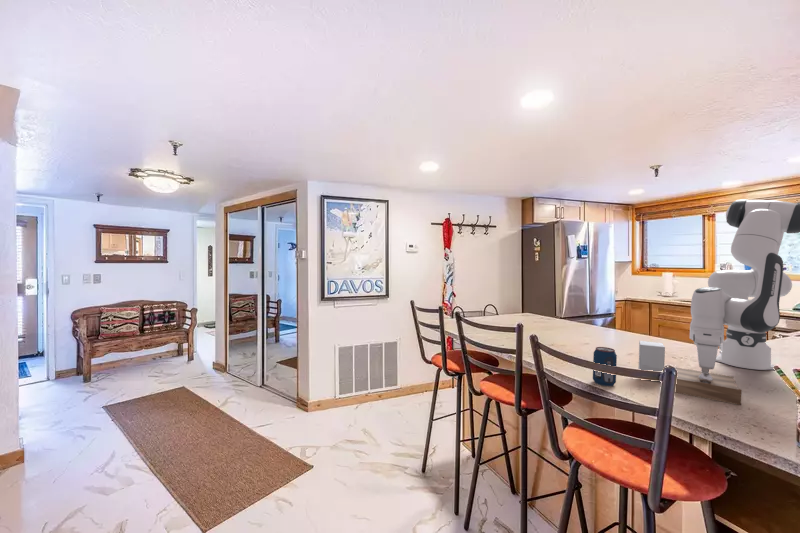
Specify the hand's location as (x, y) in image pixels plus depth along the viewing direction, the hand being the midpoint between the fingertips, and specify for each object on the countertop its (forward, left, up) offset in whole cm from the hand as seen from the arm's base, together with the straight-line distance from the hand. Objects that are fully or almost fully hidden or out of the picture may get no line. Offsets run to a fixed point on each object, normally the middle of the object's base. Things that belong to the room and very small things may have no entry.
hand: (704, 376), depth 124 cm
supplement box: (+1, -15, -4) cm, 16 cm away
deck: (+1, 0, -4) cm, 4 cm away
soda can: (+19, -27, -4) cm, 33 cm away
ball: (+5, 0, 0) cm, 5 cm away
